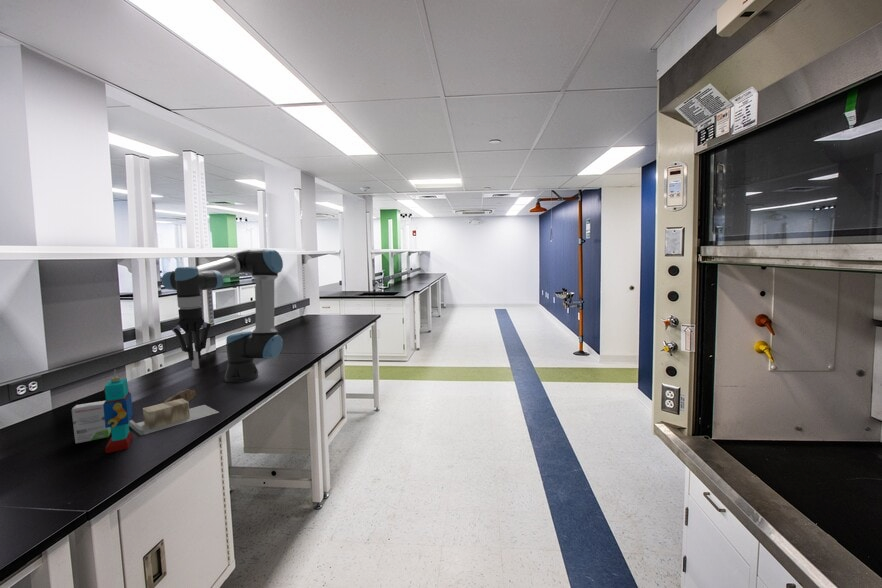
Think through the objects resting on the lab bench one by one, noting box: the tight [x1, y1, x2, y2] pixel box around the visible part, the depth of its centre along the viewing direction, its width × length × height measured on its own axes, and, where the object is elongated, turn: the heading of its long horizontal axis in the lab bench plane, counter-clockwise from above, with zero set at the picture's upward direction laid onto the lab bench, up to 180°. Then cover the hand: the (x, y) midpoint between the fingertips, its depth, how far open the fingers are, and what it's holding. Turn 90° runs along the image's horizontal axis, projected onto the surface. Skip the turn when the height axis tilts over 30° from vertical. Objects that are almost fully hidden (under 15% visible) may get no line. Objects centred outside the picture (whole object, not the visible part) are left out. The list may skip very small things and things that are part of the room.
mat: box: [129, 404, 220, 436], centre depth 146 cm, size 25×14×2 cm, turn 142°
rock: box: [162, 388, 197, 403], centre depth 164 cm, size 15×10×6 cm
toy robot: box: [103, 369, 134, 454], centre depth 125 cm, size 12×6×25 cm, turn 30°
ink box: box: [71, 400, 112, 444], centre depth 131 cm, size 9×5×12 cm, turn 121°
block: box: [142, 398, 190, 429], centre depth 144 cm, size 6×7×12 cm
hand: (195, 367), depth 151 cm, fingers closed
